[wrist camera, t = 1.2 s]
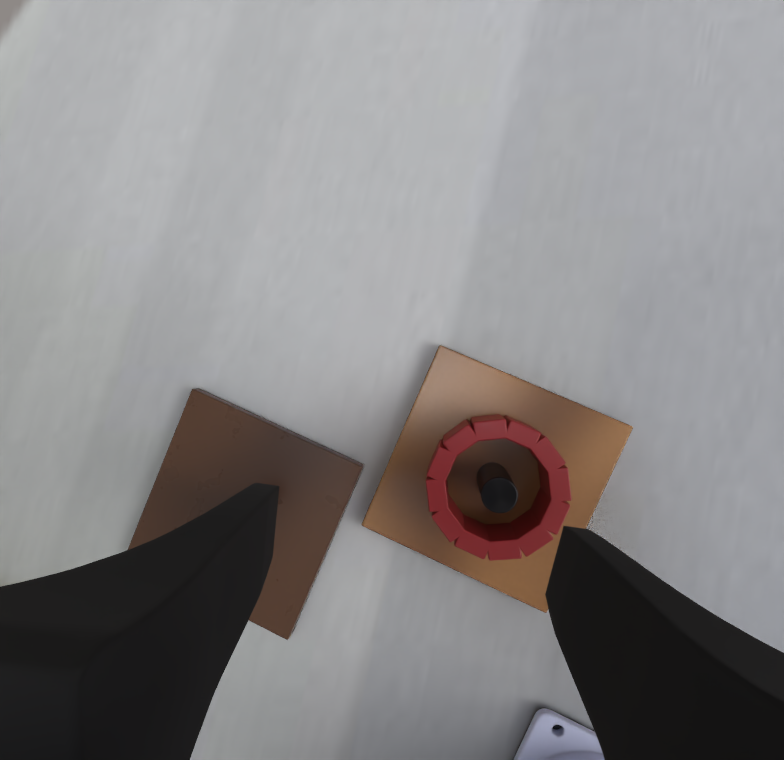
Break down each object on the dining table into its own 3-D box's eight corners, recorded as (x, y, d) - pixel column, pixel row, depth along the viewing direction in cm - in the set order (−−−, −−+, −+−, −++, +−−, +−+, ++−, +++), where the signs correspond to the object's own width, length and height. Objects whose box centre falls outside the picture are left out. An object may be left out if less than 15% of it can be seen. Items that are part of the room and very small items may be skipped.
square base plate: (364, 464, 22) (337, 494, 17) (291, 633, 23) (242, 715, 17) (198, 387, 23) (121, 392, 18) (132, 552, 24) (37, 605, 18)
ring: (579, 446, 21) (594, 455, 18) (525, 562, 21) (534, 584, 19) (459, 394, 21) (460, 397, 19) (409, 508, 22) (405, 523, 19)
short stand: (628, 425, 21) (665, 436, 17) (543, 607, 21) (562, 654, 18) (439, 345, 22) (437, 340, 18) (363, 521, 22) (346, 549, 19)
